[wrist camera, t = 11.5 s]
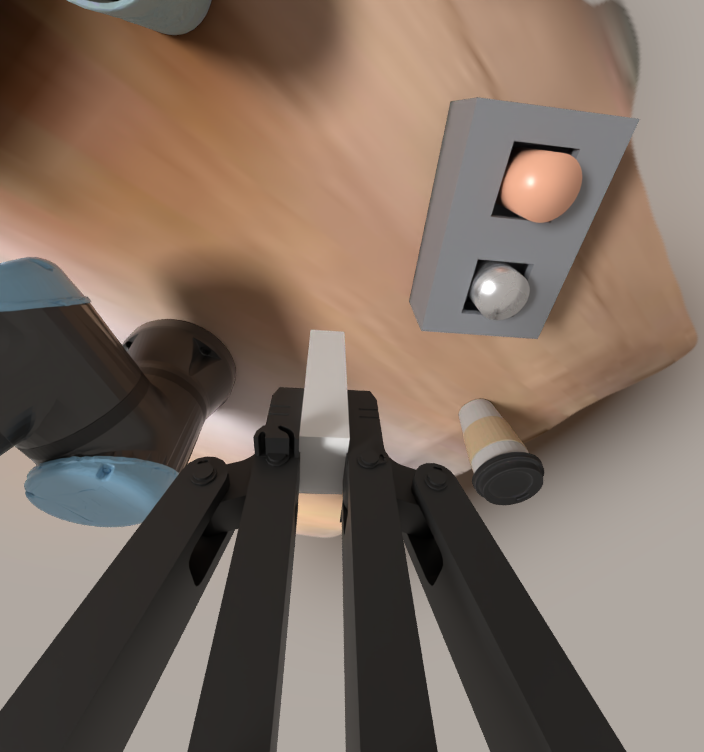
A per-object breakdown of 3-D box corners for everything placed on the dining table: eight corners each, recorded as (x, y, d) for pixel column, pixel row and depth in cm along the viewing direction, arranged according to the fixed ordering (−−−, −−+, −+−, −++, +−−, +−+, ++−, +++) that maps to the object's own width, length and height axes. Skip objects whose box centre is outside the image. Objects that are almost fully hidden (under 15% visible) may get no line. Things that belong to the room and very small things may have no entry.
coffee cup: (483, 437, 63) (519, 513, 50) (437, 424, 60) (463, 501, 48) (516, 398, 58) (565, 473, 45) (467, 382, 55) (504, 457, 43)
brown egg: (529, 209, 37) (564, 225, 31) (481, 204, 36) (508, 219, 31) (550, 150, 34) (593, 156, 28) (498, 144, 33) (532, 149, 28)
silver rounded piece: (494, 295, 44) (518, 321, 38) (453, 292, 43) (471, 318, 37) (509, 253, 41) (537, 274, 35) (465, 248, 40) (487, 270, 34)
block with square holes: (510, 309, 48) (537, 338, 42) (409, 301, 47) (421, 330, 40) (584, 119, 36) (639, 118, 29) (450, 101, 35) (477, 97, 28)
